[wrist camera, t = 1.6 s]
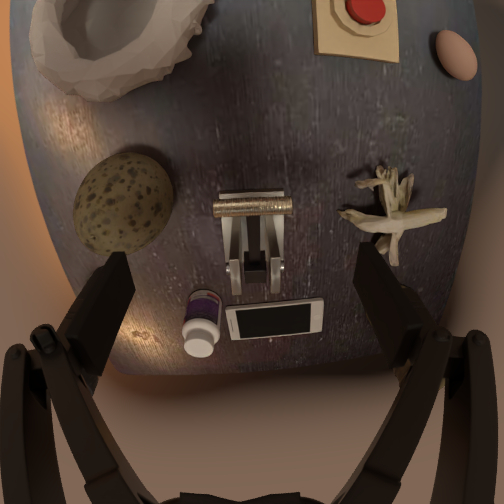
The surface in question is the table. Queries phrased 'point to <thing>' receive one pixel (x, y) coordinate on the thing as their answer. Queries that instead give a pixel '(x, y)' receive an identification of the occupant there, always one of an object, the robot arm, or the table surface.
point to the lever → (253, 227)
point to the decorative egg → (122, 204)
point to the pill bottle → (202, 323)
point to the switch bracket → (238, 240)
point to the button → (366, 10)
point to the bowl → (111, 42)
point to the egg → (456, 55)
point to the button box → (354, 33)
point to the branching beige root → (392, 211)
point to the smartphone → (275, 318)
